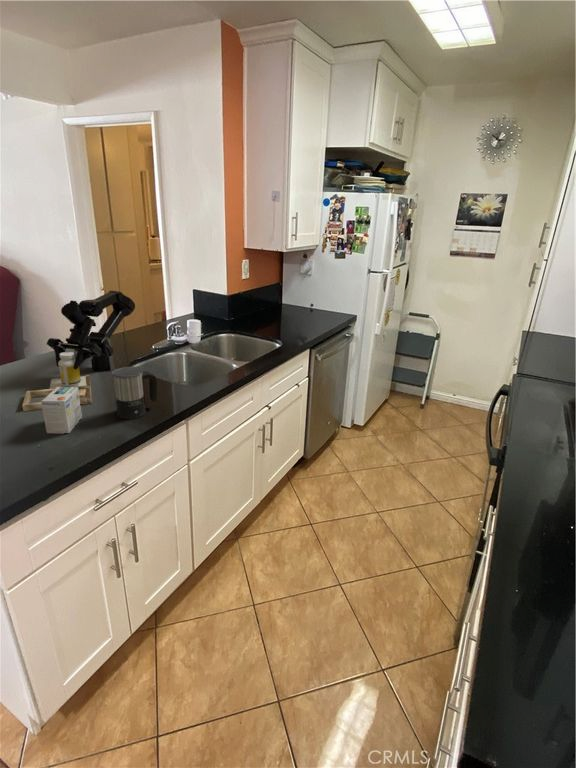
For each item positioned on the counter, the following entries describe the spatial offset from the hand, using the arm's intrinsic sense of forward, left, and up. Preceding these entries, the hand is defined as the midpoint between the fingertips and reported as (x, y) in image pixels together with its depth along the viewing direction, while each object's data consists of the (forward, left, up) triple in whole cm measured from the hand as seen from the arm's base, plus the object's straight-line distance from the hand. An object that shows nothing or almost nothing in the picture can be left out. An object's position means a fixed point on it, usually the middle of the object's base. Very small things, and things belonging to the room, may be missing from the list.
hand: (66, 367), depth 149 cm
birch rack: (+3, +10, -8) cm, 13 cm away
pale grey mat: (0, -3, -8) cm, 8 cm away
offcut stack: (-2, +10, -8) cm, 13 cm away
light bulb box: (0, +30, -8) cm, 32 cm away
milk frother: (-19, +24, -8) cm, 32 cm away
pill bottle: (-1, -1, -7) cm, 7 cm away
